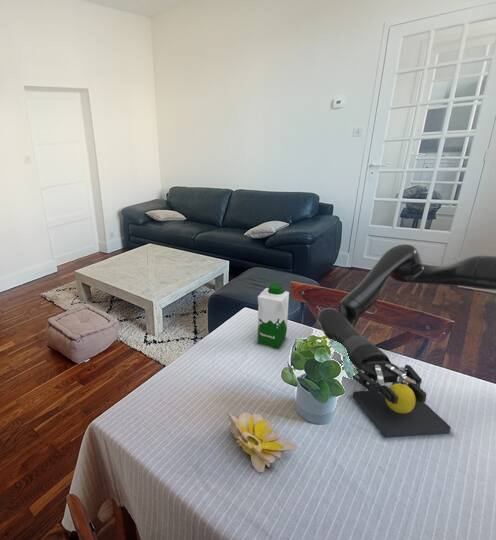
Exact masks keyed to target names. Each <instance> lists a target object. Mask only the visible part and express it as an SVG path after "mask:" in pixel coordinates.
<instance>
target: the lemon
mask: <svg viewBox="0 0 496 540" xmlns="http://www.w3.org/2000/svg"><path fill="white" fill-rule="evenodd" d="M392 384H393V383H392ZM392 384H391V385H390V386H388V387H389V388H390V389H391V390H392V391H393V392H394V393H395V394H396V395H397V396H398V402H397V404H392V403H391V402H389V401H388V400H387V399H386V398H385V399H386V403H387V405H388V406H389V407H390V408H391V409H392V410H393V411H395V412H397V413H401V414H405V413H409V412H411V411H412V410H413V408H414V407H415V403H416V397H415V394H414V392H413V391H412V389H411V388H409V387H408V386H406V385H404V384H393V385H392Z"/></svg>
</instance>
